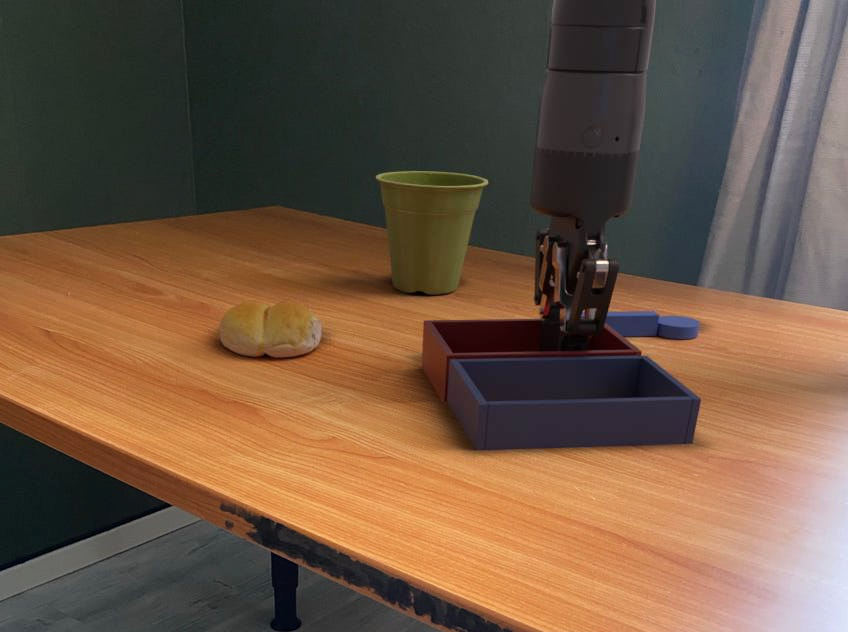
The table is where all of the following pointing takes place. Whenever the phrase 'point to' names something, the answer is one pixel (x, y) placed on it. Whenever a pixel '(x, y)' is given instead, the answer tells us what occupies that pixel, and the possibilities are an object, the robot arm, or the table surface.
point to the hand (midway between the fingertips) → (559, 373)
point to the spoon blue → (652, 324)
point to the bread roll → (270, 329)
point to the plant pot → (429, 227)
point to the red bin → (500, 345)
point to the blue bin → (570, 402)
